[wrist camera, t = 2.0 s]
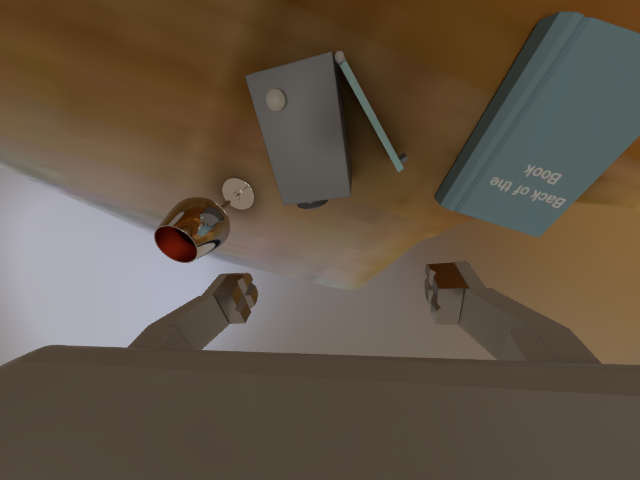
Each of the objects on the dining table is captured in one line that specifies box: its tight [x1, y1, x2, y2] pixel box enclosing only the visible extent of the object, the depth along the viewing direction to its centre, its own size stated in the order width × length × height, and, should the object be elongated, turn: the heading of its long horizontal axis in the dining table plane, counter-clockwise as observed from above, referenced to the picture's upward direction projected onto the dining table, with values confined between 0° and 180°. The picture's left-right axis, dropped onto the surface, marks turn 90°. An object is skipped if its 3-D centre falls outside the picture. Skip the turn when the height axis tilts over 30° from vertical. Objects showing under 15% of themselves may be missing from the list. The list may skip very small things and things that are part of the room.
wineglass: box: [154, 178, 254, 263], centre depth 36 cm, size 8×8×18 cm
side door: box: [335, 51, 409, 172], centre depth 30 cm, size 15×2×8 cm, turn 36°
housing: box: [245, 52, 352, 209], centre depth 33 cm, size 18×10×10 cm, turn 11°
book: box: [434, 12, 640, 238], centre depth 31 cm, size 23×16×5 cm
